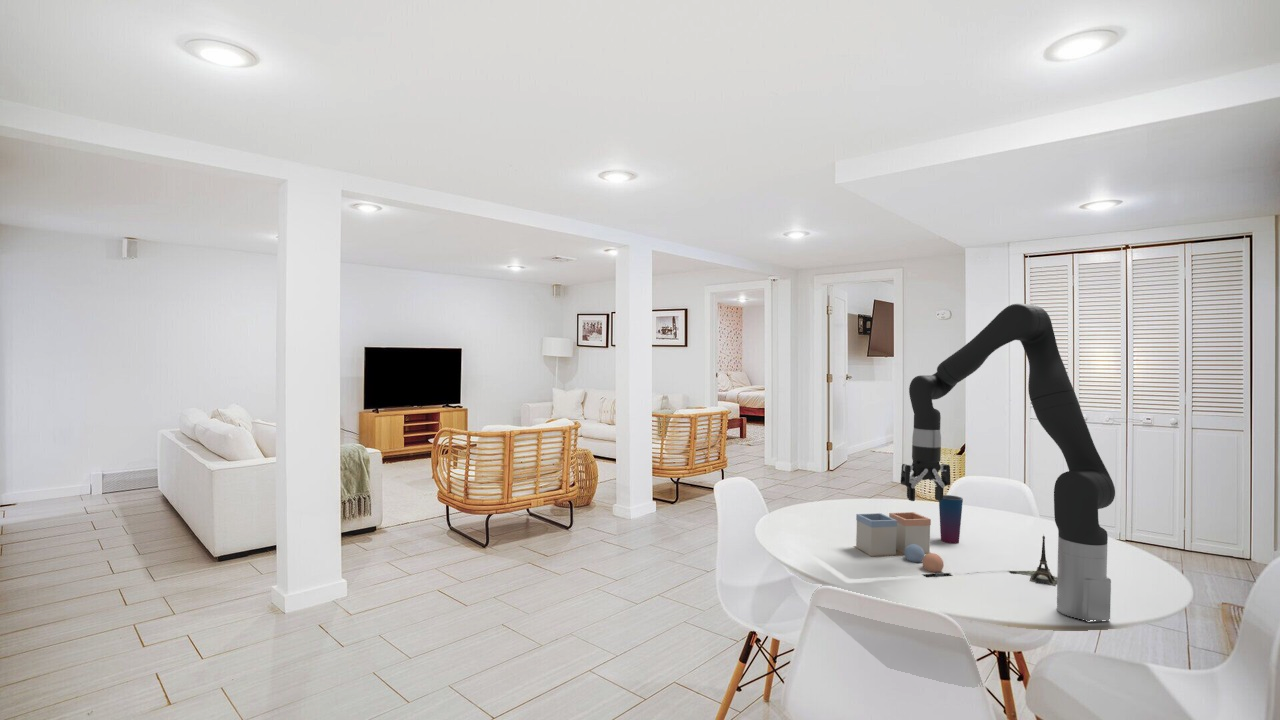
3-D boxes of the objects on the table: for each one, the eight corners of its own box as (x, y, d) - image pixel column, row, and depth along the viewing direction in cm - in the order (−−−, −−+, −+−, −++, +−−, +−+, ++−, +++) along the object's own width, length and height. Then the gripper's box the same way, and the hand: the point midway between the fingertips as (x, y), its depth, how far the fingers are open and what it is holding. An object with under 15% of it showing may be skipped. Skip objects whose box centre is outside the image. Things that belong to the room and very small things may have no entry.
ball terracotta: (947, 575, 165) (948, 556, 165) (930, 576, 164) (930, 557, 164) (934, 568, 170) (935, 550, 170) (918, 569, 169) (918, 551, 169)
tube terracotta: (930, 553, 182) (930, 519, 181) (905, 554, 180) (905, 520, 180) (912, 544, 190) (913, 512, 190) (888, 545, 188) (889, 513, 188)
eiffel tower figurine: (1086, 592, 157) (1087, 540, 157) (1050, 594, 155) (1051, 541, 155) (1040, 572, 172) (1041, 524, 171) (1007, 573, 170) (1008, 525, 170)
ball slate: (928, 565, 173) (928, 547, 173) (911, 566, 172) (912, 547, 172) (916, 559, 178) (917, 541, 178) (900, 560, 177) (900, 542, 177)
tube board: (933, 558, 181) (933, 553, 181) (871, 561, 177) (871, 556, 177) (911, 547, 191) (912, 543, 191) (852, 550, 187) (852, 546, 187)
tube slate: (896, 554, 179) (897, 520, 179) (870, 555, 178) (871, 521, 178) (880, 546, 187) (881, 513, 187) (855, 547, 186) (856, 514, 186)
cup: (964, 548, 190) (965, 500, 190) (941, 547, 192) (942, 499, 191) (958, 542, 197) (959, 495, 197) (935, 540, 198) (936, 494, 198)
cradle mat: (953, 576, 165) (953, 572, 165) (926, 578, 164) (926, 573, 164) (920, 559, 179) (920, 555, 179) (895, 561, 177) (895, 556, 177)
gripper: (911, 446, 173) (910, 504, 173) (957, 446, 175) (955, 503, 175) (896, 442, 180) (895, 497, 180) (940, 442, 183) (939, 496, 183)
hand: (925, 500), depth 178 cm, fingers open, 8 cm apart
